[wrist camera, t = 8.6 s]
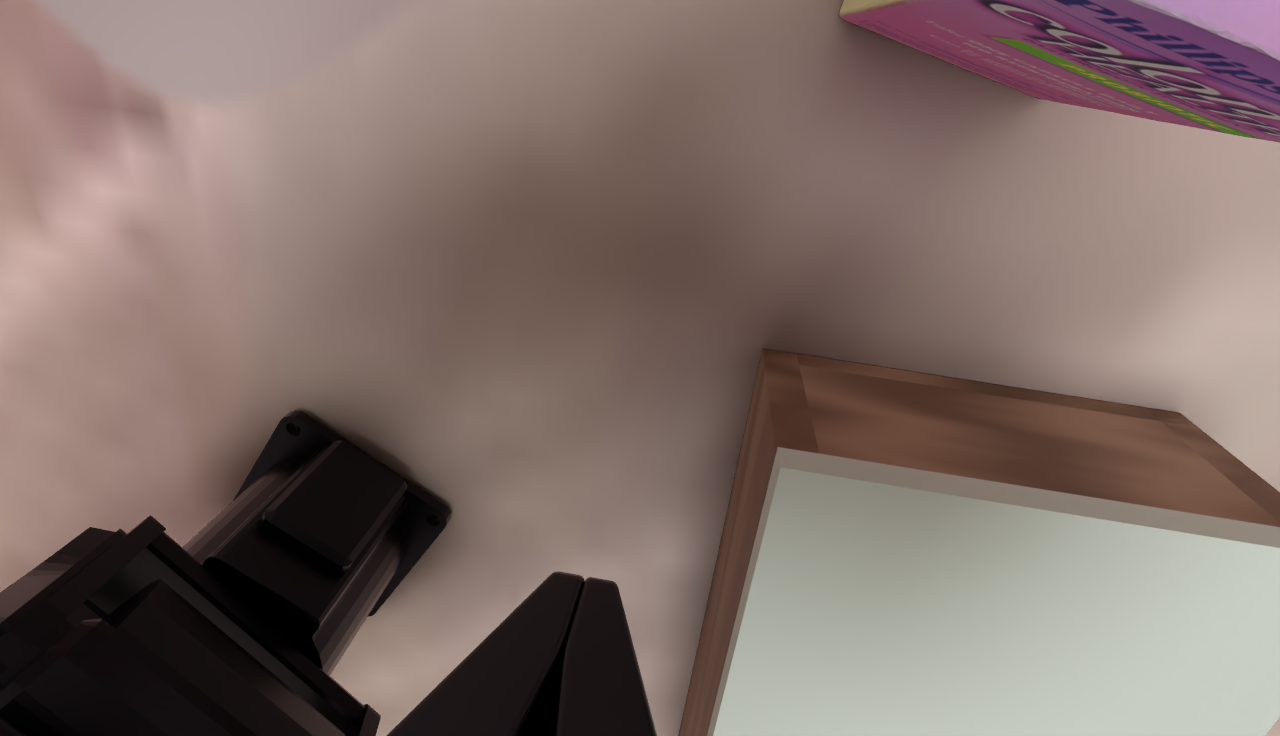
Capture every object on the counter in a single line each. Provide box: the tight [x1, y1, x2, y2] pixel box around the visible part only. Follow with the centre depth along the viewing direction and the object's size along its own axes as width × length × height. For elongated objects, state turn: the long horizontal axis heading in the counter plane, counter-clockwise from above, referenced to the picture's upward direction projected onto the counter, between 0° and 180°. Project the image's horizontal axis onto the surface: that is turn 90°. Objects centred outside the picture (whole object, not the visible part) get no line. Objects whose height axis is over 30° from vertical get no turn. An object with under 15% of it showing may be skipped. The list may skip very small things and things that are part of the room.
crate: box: [679, 349, 1280, 736], centre depth 21 cm, size 12×18×6 cm, turn 173°
